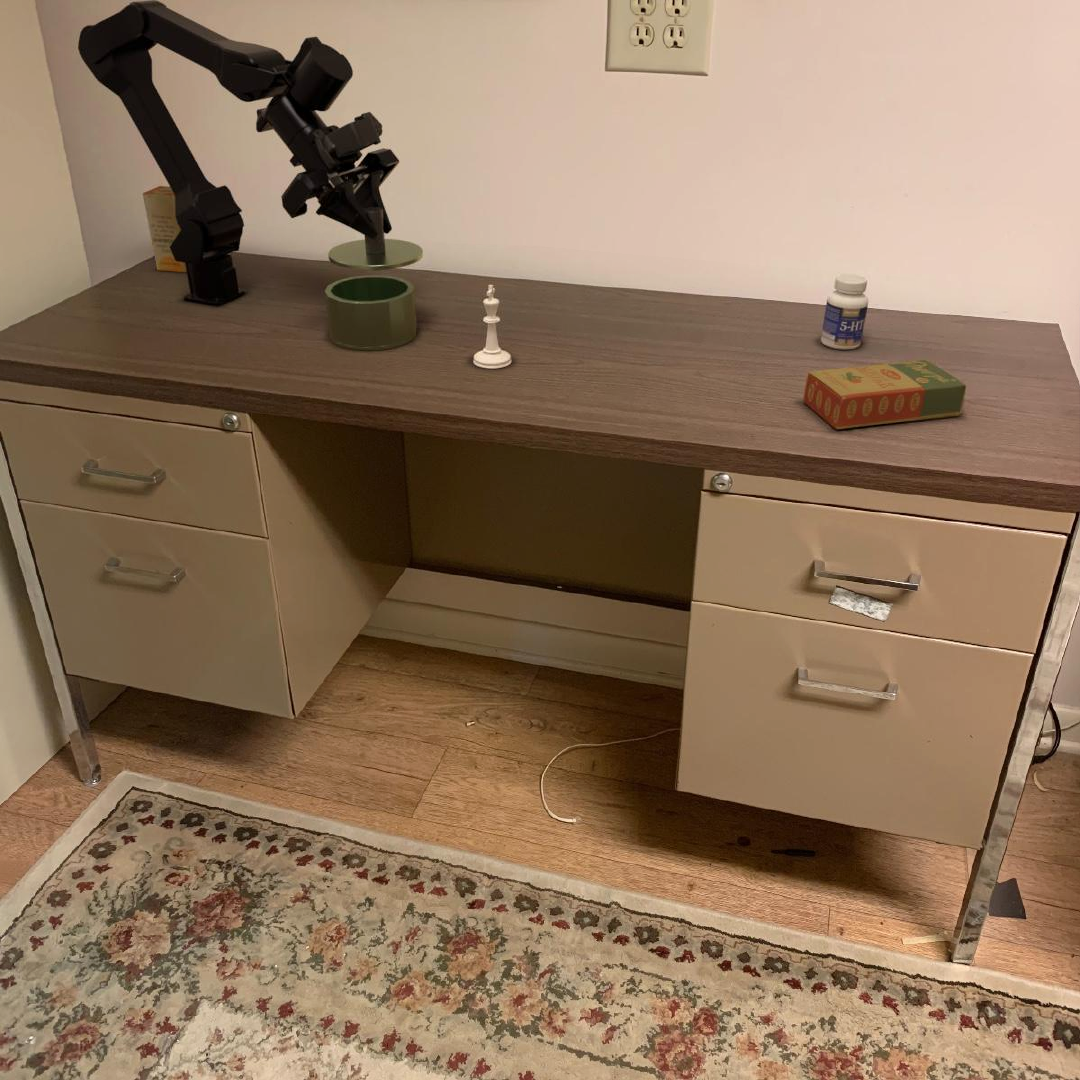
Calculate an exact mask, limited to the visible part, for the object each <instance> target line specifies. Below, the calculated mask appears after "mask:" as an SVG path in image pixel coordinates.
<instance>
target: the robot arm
mask: <svg viewBox="0 0 1080 1080" xmlns="http://www.w3.org/2000/svg"><path fill="white" fill-rule="evenodd" d="M77 45H78V46H77V50H78V53H79V55H80V58H81V59H82V61H83V63H84V64H85V65H86V67H87V68H88V69H89V71H90V73H91V74H92V75H93V77H94V78H95V79H96V81H98V83H99V84H101V85H102V86H104V87H105V88H107V89H108V90H109V91H110V92H112V93H113V94H115V96H117V97H118V98H119V99H120V101H121V102H122V104H123V106H124V108H125V110H126V111H127V113H128V115H129V116H130V118H131V120H132V122H133V123H134V125H135V127H136V129H137V130H138V132H139V134H140V136H141V138H142V140H143V141H144V143H145V145H146V147H147V149H148V150H149V152H150V153H151V155H152V157H153V159H154V161H155V163H156V164H157V166H158V168H159V169H160V171H161V173H162V175H163V176H164V178H165V180H166V182H167V183H168V186H169V187H171V189H172V191H173V193H174V195H175V217H176V220H177V222H178V224H179V227H180V229H181V231H180V232H179V234H178V235H177V237H176V238H175V240H174V241H173V243H172V244H171V246H170V249H171V252H172V254H173V256H174V258H175V260H176V261H178V262H184V263H185V266H186V271H187V272H186V276H187V282H188V287H189V293H187V294H186V295H183V301H188V302H189V301H190V302H195V303H201V304H207V305H212V306H220V305H223V304H225V303H226V302H229V301H230V300H233V299H235V298H237V297H240V296H241V295H244V294H245V289H242V288H239V282H238V276H237V270H236V269H237V268H236V266H234V262H233V255H232V253H234V252H239V250H240V245H241V239H242V236H243V232H244V227H245V223H244V219H243V217H242V214H241V213H242V212H243V210H242V208H241V207H240V206H239V205H238V204H237V202H236V201H235V198H234V197H233V194H232V192H231V190H230V189H229V187H228V186H227V185H225V184H224V185H221V186H218V187H217V186H216V185H215V184H213V183H212V182H210V181H209V180H208V179H207V177H206V176H205V174H204V172H203V170H202V169H201V167H200V165H199V163H198V162H197V160H196V158H195V156H194V154H193V153H192V150H191V149H190V147H189V145H188V144H187V142H186V140H185V137H184V136H183V135H182V133H181V131H180V129H179V127H178V126H177V124H176V122H175V120H174V118H173V116H172V114H171V113H170V111H169V109H168V108H167V106H166V104H165V102H164V101H163V99H162V97H161V95H160V93H159V91H158V89H157V88H156V86H155V84H154V80H153V58H152V56H151V54H150V50H152V49H153V48H154V47H155V46H156V45H159V46H161V47H163V48H165V49H168V50H169V51H171V52H173V53H175V54H177V55H179V56H181V57H183V58H184V59H186V60H188V61H191V62H193V63H194V64H196V65H197V66H200V67H201V68H204V69H206V70H208V71H209V72H210V73H211V74H213V75H214V77H216V79H217V82H218V83H219V84H220V86H221V87H223V89H225V90H227V92H229V93H230V94H232V95H233V96H234V97H236V98H237V99H238V100H239V101H242V102H245V103H251V102H256V101H261V100H266V99H270V101H269V102H268V104H267V106H266V107H263V108H258V109H256V121H255V130H256V132H257V133H263V132H268V131H272V130H273V131H274V132H275V133H276V134H277V136H278V137H279V138H280V140H281V141H282V142H283V144H284V145H285V146H286V148H287V149H288V150H289V151H290V153H291V154H292V157H291V158H290V159H289V163H290V164H291V165H292V166H293V168H297V167H299V166H301V167H302V168H303V169H304V170H305V171H301V172H298V173H297V174H296V175H295V177H294V178H293V179H292V181H291V182H290V184H289V185H288V186H287V188H286V189H285V190H284V192H283V193H282V195H281V205H282V208H283V210H284V211H285V212H286V213H287V214H288V216H289V217H290V218H291V219H295V218H298V217H301V216H303V215H306V214H307V212H308V204H307V201H308V200H311V199H314V198H316V199H317V204H319V207H318V208H317V209H316V211H315V213H316V215H318V216H324V217H326V218H328V219H331V220H333V221H336V222H338V223H340V224H342V225H345V226H347V227H348V228H350V229H352V230H353V231H355V232H358V233H360V234H362V235H363V236H364V235H366V236H368V237H369V238H371V239H375V238H376V237H377V236H378V235H379V233H378V231H377V230H376V228H375V226H374V224H373V223H372V221H371V220H370V218H369V217H368V216H367V214H366V213H365V211H364V210H363V209H364V208H367V207H379V208H382V209H383V221H384V234H390V232H391V231H392V230H393V227H392V223H391V220H390V218H389V216H388V213H387V210H386V207H385V204H384V202H383V199H382V198H383V197H382V194H381V191H380V187H381V186H382V184H383V183H384V182H385V181H386V180H387V178H388V177H389V176H390V175H391V173H392V172H393V171H394V170H395V169H396V167H398V165H399V164H400V159H399V158H398V157H397V155H396V154H395V153H394V152H393V151H392V149H391V148H382V147H381V148H379V149H376V150H373V151H370V152H369V151H368V152H367V153H366V155H364V157H363V153H362V151H363V150H365V149H368V148H369V147H371V146H373V145H375V146H376V145H379V144H381V143H382V141H381V138H380V137H381V136H382V135H383V124H382V123H381V122H380V121H379V120H378V119H377V117H376V116H374V114H373V113H372V112H371V111H367V112H363V113H361V114H360V115H358V116H356V117H354V119H353V121H352V122H349V123H347V124H344V125H342V126H341V127H339V126H338V125H335V124H333V125H327V124H326V123H325V122H324V120H323V119H322V118H321V117H320V115H319V114H318V113H317V112H327V111H329V110H330V108H331V107H332V105H333V104H334V102H336V101H337V98H338V97H339V96H340V94H341V93H342V92H343V91H344V89H345V88H346V86H347V85H348V83H349V82H350V81H351V79H352V78H353V75H354V71H353V67H352V65H351V63H350V62H349V60H348V59H347V57H346V56H345V55H344V54H343V53H340V52H339V51H338V50H336V48H334V47H332V46H330V45H328V44H325V43H322V41H321V40H320V39H319V37H318V36H309V37H305V38H304V40H303V42H302V43H301V44H300V48H299V50H298V52H297V53H296V55H295V56H294V58H293V60H290V59H286V57H285V56H284V55H283V54H282V53H281V52H280V51H278V50H277V49H275V48H272V47H268V46H264V45H262V44H258V43H252V42H245V41H237V40H233V39H230V38H227V37H226V36H224V35H221V34H220V33H218V32H216V31H215V30H211V29H210V28H208V27H206V26H204V25H202V24H200V23H198V22H197V21H194V20H192V19H191V18H188V17H186V16H184V15H183V14H181V13H179V12H177V11H174V10H172V9H171V8H169V7H167V5H166V4H164V3H163V2H162V1H160V0H140V1H132V2H130V3H129V4H127V5H126V6H125V7H123V8H121V10H120V11H118V12H116V13H114V14H113V15H111V16H108V17H107V18H105V19H103V20H101V21H99V22H97V23H95V24H89V25H85V26H84V27H83V28H81V30H80V33H79V38H78V44H77ZM362 157H363V158H362ZM361 158H362V159H361ZM359 160H361V161H360V163H359V164H358V165H357V166H356V163H357V162H358V161H359Z"/></svg>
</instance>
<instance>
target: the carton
mask: <svg viewBox="0 0 1080 1080" xmlns="http://www.w3.org/2000/svg"><path fill="white" fill-rule="evenodd" d="M966 390H967V384H966V383H965V382H964V381H961V380H960V379H958V377H955V376H953V375H952V374H950V373H948V372H947V371H945V370H943V369H942V368H940V367H939V366H937V365H935V364H934V363H932V362H931V361H929V360H927V359H921V360H909V361H901V362H891V363H882V364H873V365H862V366H851V367H843V368H833V369H823V370H813V371H809V372H807V376H806V382H805V386H804V391H803V399H802V402H803V403H804V404H806V405H807V406H808V407H809V408H810V409H811V410H813V412H814V413H816V414H817V415H818V416H820V417H821V418H822V419H823V420H824V421H825V422H827V423H828V424H829V425H830V426H832V428H834V429H835V430H843V429H851V428H858V427H867V426H875V425H883V424H893V423H900V422H901V423H903V422H914V421H915V422H916V421H927V420H937V419H947V418H957V417H959V416H960V415H962V412H963V407H964V404H965V396H966V392H967V391H966Z"/></svg>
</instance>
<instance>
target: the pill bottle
mask: <svg viewBox="0 0 1080 1080" xmlns="http://www.w3.org/2000/svg"><path fill="white" fill-rule="evenodd" d="M867 286H868V279H867V278H866V277H864V276H862V275H858V274H853V273H852V274H850V273H847V274H846V273H845V274H839V275H837V276H836V277H835V281H834V291H832V292H831V293H829V294H828V296H827V299H826V304H825V311H824V315H823V323H822V328H821V335H820V342H821V343H822V344H823V345H824V346H825V347H828V348H832V349H836V350H843V351H844V350H854V349H857V348H859V347H860V346H861V344H862V339H863V338H862V337H863V334H864V329H865V322H866V317H867V313H868V306H869V298H868V297H867V295H866V294H864V293H865V292H866V290H867Z"/></svg>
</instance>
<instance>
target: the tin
mask: <svg viewBox="0 0 1080 1080" xmlns="http://www.w3.org/2000/svg"><path fill="white" fill-rule="evenodd" d="M324 297H325V307H326V308H325V309H326V317H327V325H328V327H327V328H328V335H329V337H330V341H331V342H332V343H333V344H334V345H336V346H338V347H340V348H344V349H347V350H354V351H364V352H365V351H368V352H369V351H370V352H371V351H383V350H390V349H394V348H398V347H401V346H404V345H406V344H408V343H410V342H411V341H413V340H414V339H415V338H416V336H417V314H416V313H417V311H416V297H415V286H414V284H412V283H411V281H409V280H406V279H404V278H401V277H399V276H390V275H372V274H371V275H369V274H368V275H357V276H351V277H347V278H343V279H338V280H336V281H334V282H332V283H330V284H328V285H327V287H326V288H325V290H324Z"/></svg>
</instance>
